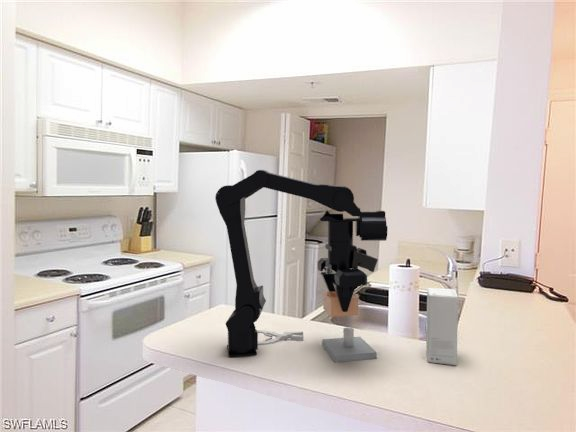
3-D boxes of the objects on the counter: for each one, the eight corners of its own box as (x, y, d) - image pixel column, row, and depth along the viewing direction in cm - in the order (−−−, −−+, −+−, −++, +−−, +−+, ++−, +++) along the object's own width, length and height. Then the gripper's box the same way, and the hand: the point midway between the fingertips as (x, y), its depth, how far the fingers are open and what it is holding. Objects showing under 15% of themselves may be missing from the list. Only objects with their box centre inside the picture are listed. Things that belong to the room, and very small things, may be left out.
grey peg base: (334, 362, 94) (335, 338, 94) (322, 345, 104) (322, 323, 104) (376, 358, 96) (377, 335, 96) (359, 342, 106) (360, 321, 106)
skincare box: (456, 366, 93) (459, 297, 92) (425, 362, 95) (427, 294, 93) (453, 352, 101) (456, 288, 100) (424, 348, 103) (427, 286, 101)
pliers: (247, 326, 113) (302, 327, 113) (247, 332, 114) (302, 332, 114) (243, 340, 104) (304, 340, 104) (243, 346, 104) (304, 347, 104)
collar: (331, 316, 94) (331, 299, 93) (323, 308, 100) (323, 292, 100) (358, 314, 95) (358, 297, 95) (348, 306, 101) (348, 290, 101)
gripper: (390, 245, 88) (389, 317, 90) (359, 234, 107) (359, 294, 108) (340, 247, 86) (340, 321, 88) (316, 236, 105) (317, 297, 106)
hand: (340, 307), depth 97 cm, fingers closed on collar, 6 cm apart
